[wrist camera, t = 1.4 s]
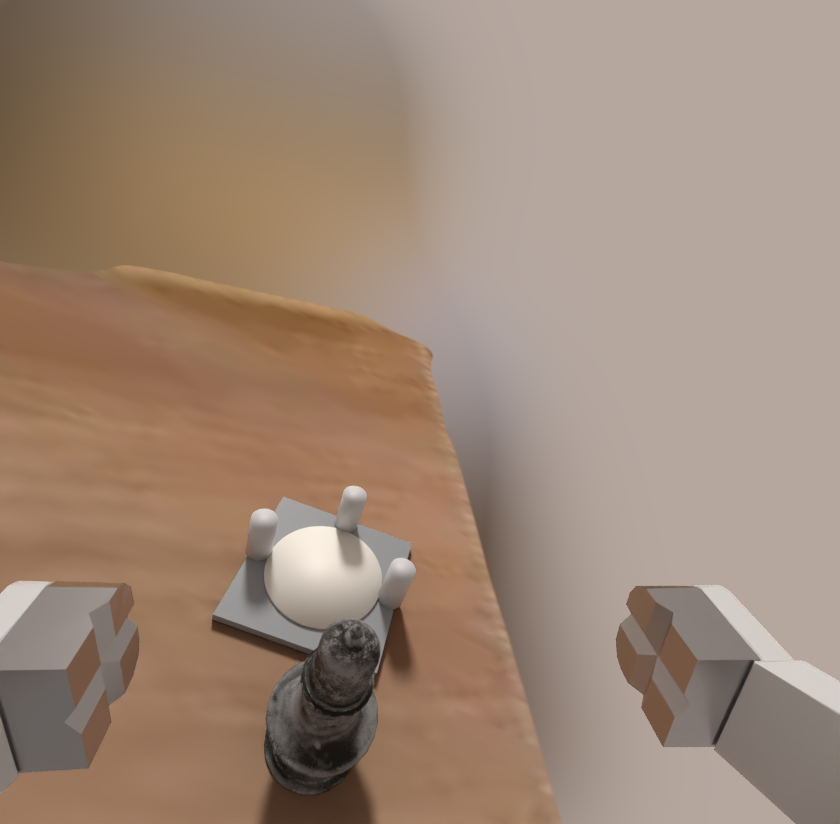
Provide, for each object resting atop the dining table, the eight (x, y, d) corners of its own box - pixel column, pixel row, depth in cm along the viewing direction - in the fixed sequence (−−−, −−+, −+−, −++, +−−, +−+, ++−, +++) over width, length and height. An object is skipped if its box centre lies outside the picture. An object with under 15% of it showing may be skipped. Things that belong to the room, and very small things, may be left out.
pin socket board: (206, 617, 33) (209, 579, 30) (279, 496, 42) (286, 460, 40) (380, 679, 33) (397, 647, 31) (415, 545, 42) (430, 512, 40)
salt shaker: (309, 666, 32) (349, 547, 26) (382, 731, 31) (446, 622, 24) (235, 748, 28) (259, 631, 21) (316, 830, 26) (372, 731, 19)
